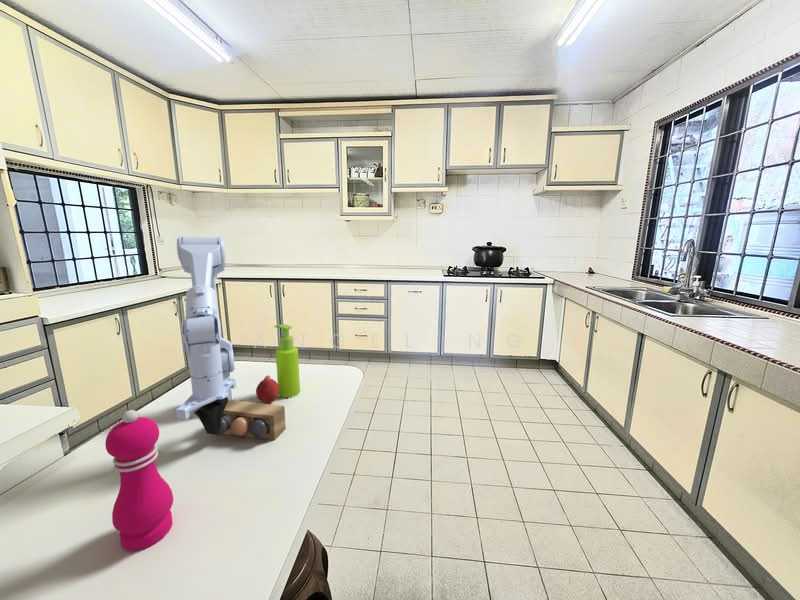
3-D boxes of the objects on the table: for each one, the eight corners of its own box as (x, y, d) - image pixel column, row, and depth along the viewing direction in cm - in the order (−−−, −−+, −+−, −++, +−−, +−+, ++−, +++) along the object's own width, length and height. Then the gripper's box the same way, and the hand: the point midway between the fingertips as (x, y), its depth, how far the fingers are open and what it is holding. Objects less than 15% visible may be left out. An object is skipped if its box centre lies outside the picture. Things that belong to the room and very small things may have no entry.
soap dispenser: (289, 386, 101) (285, 321, 97) (304, 392, 97) (301, 325, 93) (272, 393, 96) (267, 325, 92) (286, 400, 92) (282, 329, 88)
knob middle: (231, 434, 73) (229, 419, 73) (249, 419, 79) (247, 405, 79) (246, 436, 73) (244, 421, 72) (262, 421, 79) (261, 407, 78)
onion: (272, 410, 86) (270, 381, 85) (252, 408, 87) (250, 379, 86) (284, 399, 92) (282, 372, 90) (265, 397, 93) (263, 370, 92)
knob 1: (210, 434, 73) (208, 419, 73) (229, 419, 79) (228, 405, 79) (225, 436, 73) (223, 421, 72) (243, 421, 79) (242, 407, 78)
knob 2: (249, 437, 73) (248, 421, 72) (266, 421, 79) (265, 407, 78) (264, 438, 72) (263, 423, 71) (280, 423, 78) (279, 409, 77)
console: (215, 432, 76) (213, 408, 75) (228, 421, 81) (226, 399, 80) (275, 440, 74) (273, 415, 73) (285, 428, 78) (284, 405, 77)
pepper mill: (138, 514, 54) (120, 399, 50) (186, 511, 54) (171, 397, 51) (103, 556, 47) (79, 426, 43) (158, 553, 47) (139, 423, 44)
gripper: (196, 389, 61) (203, 456, 64) (246, 361, 75) (250, 417, 78) (163, 386, 63) (172, 451, 65) (218, 359, 77) (224, 413, 79)
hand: (212, 432), depth 72 cm, fingers closed
